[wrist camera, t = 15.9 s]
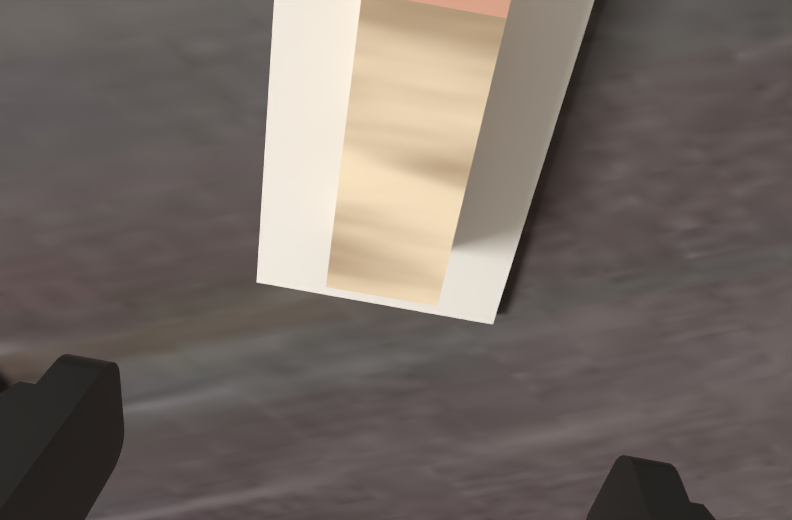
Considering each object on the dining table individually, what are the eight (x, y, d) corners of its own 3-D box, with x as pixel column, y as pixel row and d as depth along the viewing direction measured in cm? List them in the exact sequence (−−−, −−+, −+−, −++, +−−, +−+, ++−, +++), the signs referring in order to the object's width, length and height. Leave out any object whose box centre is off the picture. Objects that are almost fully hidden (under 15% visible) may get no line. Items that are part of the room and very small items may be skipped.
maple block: (341, 233, 29) (378, -48, 23) (438, 250, 29) (501, -26, 23) (325, 286, 25) (365, -37, 19) (437, 305, 25) (513, -9, 19)
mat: (292, -212, 21) (287, -216, 20) (633, -143, 21) (639, -145, 21) (260, 273, 31) (256, 282, 31) (491, 315, 32) (492, 324, 31)
